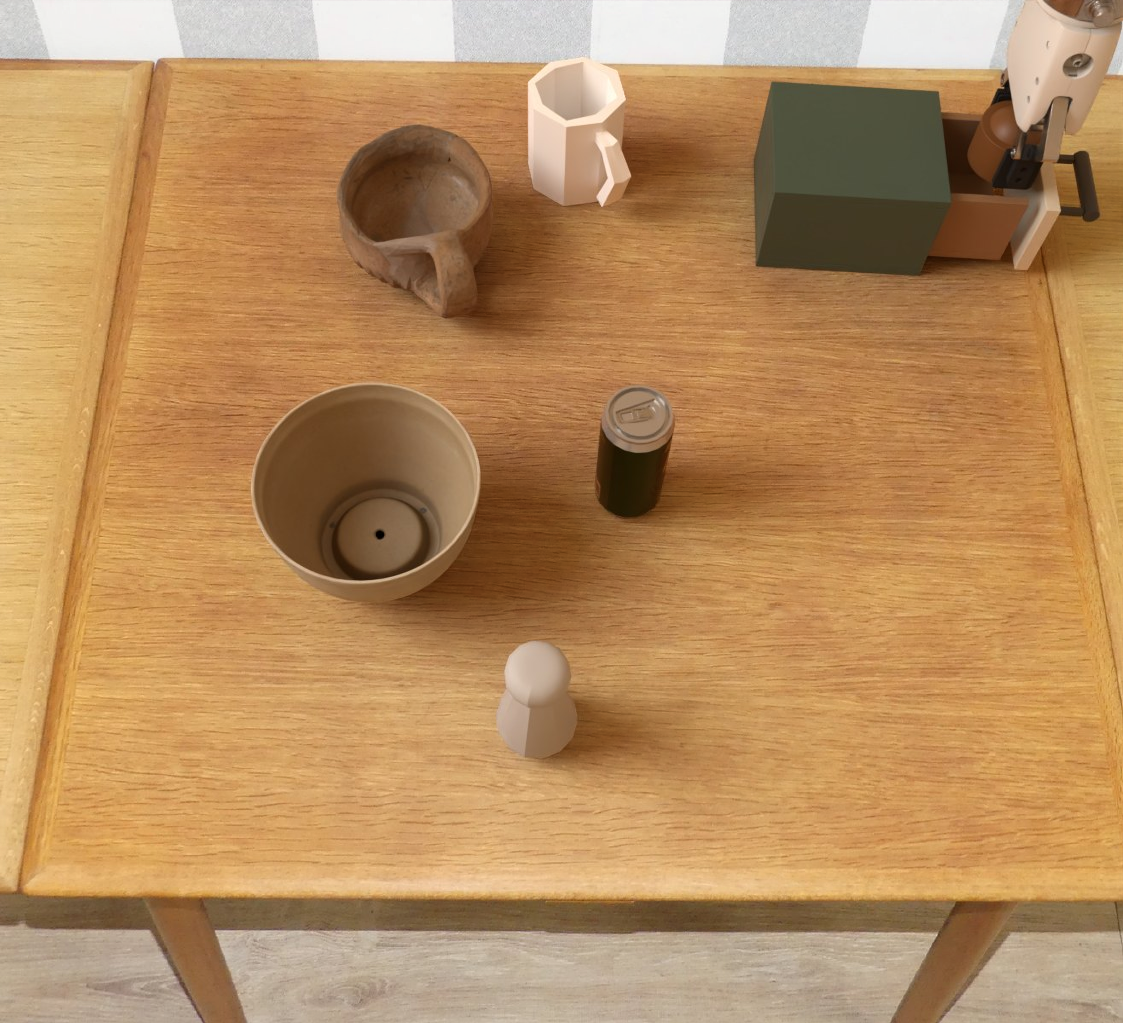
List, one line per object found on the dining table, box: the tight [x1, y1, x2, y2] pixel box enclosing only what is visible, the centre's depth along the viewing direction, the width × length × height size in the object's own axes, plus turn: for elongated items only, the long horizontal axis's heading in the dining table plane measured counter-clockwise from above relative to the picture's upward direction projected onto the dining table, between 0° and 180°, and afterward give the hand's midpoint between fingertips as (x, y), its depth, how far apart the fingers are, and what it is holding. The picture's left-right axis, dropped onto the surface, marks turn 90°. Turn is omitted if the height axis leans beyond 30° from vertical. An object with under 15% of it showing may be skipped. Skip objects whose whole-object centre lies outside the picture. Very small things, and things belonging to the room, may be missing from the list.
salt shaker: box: [495, 640, 579, 760], centre depth 83 cm, size 6×6×13 cm
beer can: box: [594, 384, 676, 519], centre depth 93 cm, size 5×5×12 cm
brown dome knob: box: [967, 101, 1045, 183], centre depth 102 cm, size 6×6×5 cm
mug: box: [527, 56, 632, 208], centre depth 109 cm, size 12×9×10 cm
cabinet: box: [753, 81, 952, 277], centre depth 108 cm, size 15×13×10 cm
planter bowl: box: [250, 381, 482, 604], centre depth 91 cm, size 16×16×11 cm
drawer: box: [927, 111, 1101, 271], centre depth 108 cm, size 18×11×8 cm, turn 87°
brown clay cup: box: [336, 124, 494, 319], centre depth 105 cm, size 18×14×10 cm
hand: (1006, 154), depth 104 cm, fingers closed on brown dome knob, 6 cm apart
